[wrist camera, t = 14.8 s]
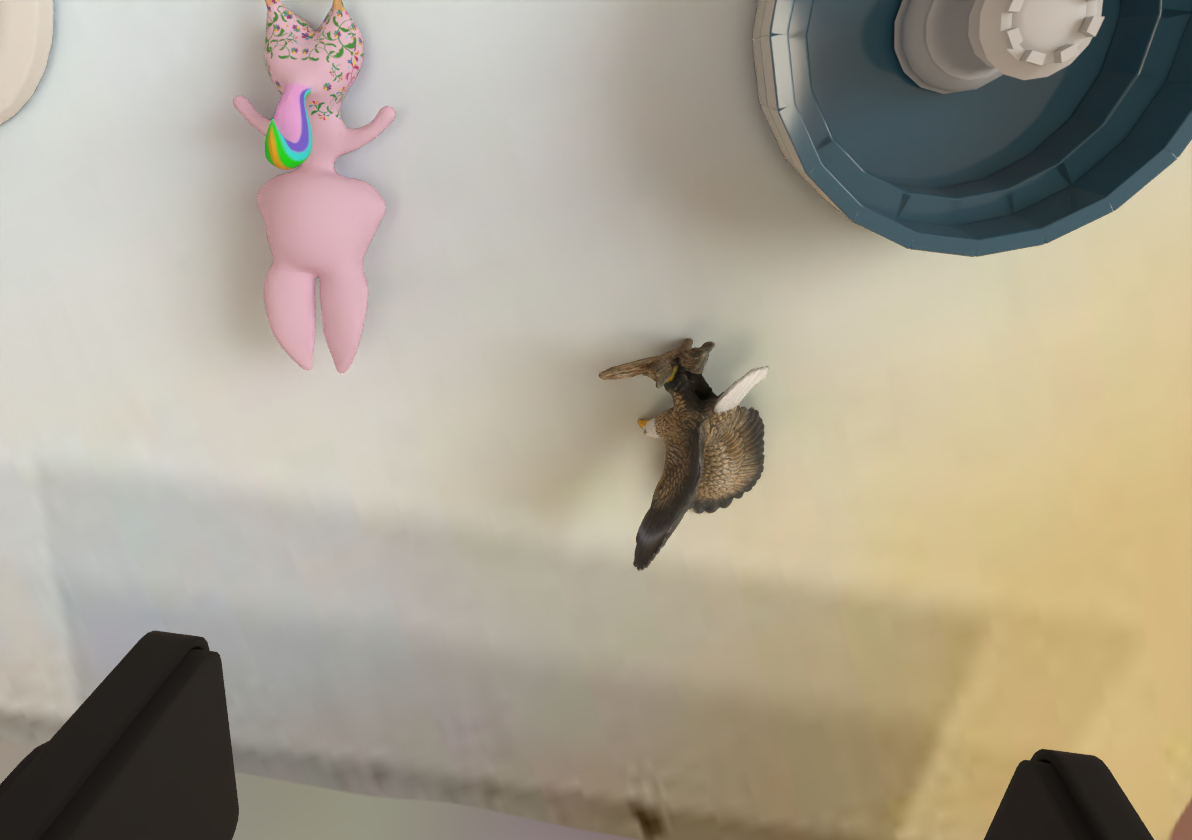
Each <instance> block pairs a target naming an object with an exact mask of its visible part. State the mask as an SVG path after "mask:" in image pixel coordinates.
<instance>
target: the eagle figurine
mask: <svg viewBox="0 0 1192 840" xmlns="http://www.w3.org/2000/svg"><path fill="white" fill-rule="evenodd" d="M692 344H693V340H692V339H689V338H687V339H685V341H684V343H683V344H682V346H681V347H679V348H677V349H676V350H672V351H669V352H667V353H665V354H663V355H660V356H656V357H650V358H645V359H641V360H637V361H634V362H630V363H626V364H623V365H619V366H615V367H611V368H609V369H607V370H605V371H603V372H601V373H600V374H599V377H600V378H602V379H604V380H605V379H621V378H625V377H634V376H636V375H639V374H642V375H646V376H648V377H650V378H652V379H653V380H654V381H656V387H657V388H660V387H661V386H662V385H664V387H665V389H666V391H668V392H669V393H670V394H671V395H672V396H673V402H674V407H673V408H670V409H668V410H665V411H663V412H662V413H661V414H660V415H658V416H657V417H655V418H653V419H650V420H641V419H639V420H638V424H639V425H640V427H641V428H642V429H643V430H644V435H646V436H648V437H652V438H663V440H664V441H665V444H666V463H665V468H664V472H663V474H662V477H661V479H660V481H659V483H658V485H657V487H656V489H655V492H654V495H653V499H652V503H651V507H650V509H649V510H648V512H647V513H646V515H645V517H644V519H643V521H642V523H641V525H640V527H639V530H638V533H637V537H636V543H637V545H636V549H635V559H634V562H633V564H634V566H635V567H637V569H638V571H640V570H644V568H647V567H648V566H649V564H650V563H651V561H653V560H654V558H655V556H656V555H657V554H658V553H659V551H660V549H661V548H662V547H663V546H664V545H665V543H666V542H667V540H668V538H669V537H670V536H671V534H672V533H673V532H674V530H675V529H676V527H677V526H678V524H679V522H680V521H681V520H682V518H683V516H684V514H685V513H686V512H687V510H688V509H690V508H693V510H694V511H695V512H696V513H698V514H700V513H702V512H703V511H706V512H707V513H713V512H715V511H716V510H717V509H718V508H719V507H721V508H727V507H728V506H729V505H730V504H731V502H732V500H733V498H737V499H739V498H741V497H742V496H743V493H744V492H748V491H750V490H751V489H752V487H753V486H755V484H756V482H757V480H758V479H760V477H761V472H763V469H764V466H763V463H764V455H763V454H762V453H763V452H764V447H763V446H764V441H763V437H764V424H763V422H762V419H761V418H760V417H759V412H758V411H757V410H754V408H750V409H747V408H745V407H741V408H740V407H739V405H738V404H739V403H740V402H741V400H742V399H743V398H744V397H745V396H746V395H747V393H748V392H749V391H750V390H751V388H752V387H753V386H755V385H756V384H757V383H759V382H761V381H762V380H763V379H764V378H765V377H766V376H767V372H768V370H769V367H768V366H766V367H761V368H756V369H752V370H750V371H749V372H748V373H747V374H746V375H744V376H743V377H742V378H740V379H739V380H738V381H736V382H734V383H733V384H732V385H731V386H730V387H729V388H728V389H727V390H726V391H725V392H723V393H722V394H720V395H719V396H716V395H715V394H714V393H713V392H712V389H711V388H710V387H709V385H708V384H707V382H706V381H705V379H704V378H703V376H702V373H703V369H704V366H705V364H706V362H707V360H708V357H709V352H710V351H711V350H712V349H713V348H714V346H715V343H713V342H706V343H704V344H703V345H702V347H700V348H692ZM691 348H692V349H691ZM695 358H698V359H695Z"/></svg>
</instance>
